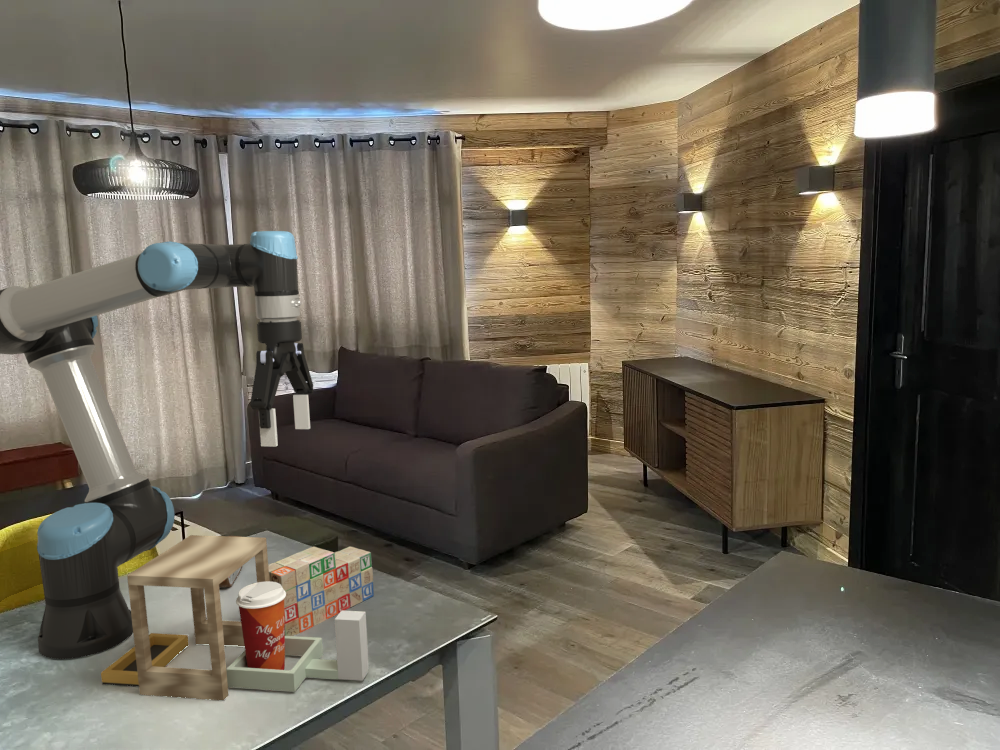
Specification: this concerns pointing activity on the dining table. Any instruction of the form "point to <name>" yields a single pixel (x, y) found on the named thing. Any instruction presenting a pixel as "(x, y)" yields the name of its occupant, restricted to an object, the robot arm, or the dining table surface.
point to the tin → (230, 580)
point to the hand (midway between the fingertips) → (287, 437)
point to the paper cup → (263, 624)
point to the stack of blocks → (321, 584)
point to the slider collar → (311, 659)
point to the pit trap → (161, 655)
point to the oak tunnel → (196, 569)
